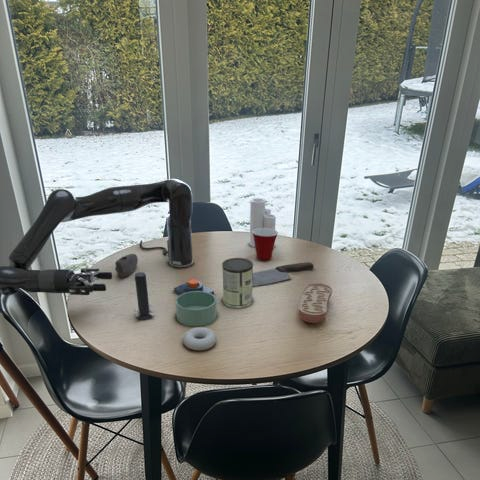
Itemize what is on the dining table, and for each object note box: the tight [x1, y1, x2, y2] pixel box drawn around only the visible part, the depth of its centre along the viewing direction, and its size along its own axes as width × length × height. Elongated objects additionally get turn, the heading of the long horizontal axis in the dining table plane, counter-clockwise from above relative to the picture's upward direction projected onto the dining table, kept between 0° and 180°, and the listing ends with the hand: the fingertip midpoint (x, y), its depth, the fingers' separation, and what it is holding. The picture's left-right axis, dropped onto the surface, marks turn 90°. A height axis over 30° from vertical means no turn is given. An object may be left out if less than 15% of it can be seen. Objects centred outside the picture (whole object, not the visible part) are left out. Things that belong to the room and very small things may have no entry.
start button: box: [187, 278, 199, 288], centre depth 166 cm, size 4×4×2 cm
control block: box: [173, 280, 215, 296], centre depth 167 cm, size 12×8×4 cm
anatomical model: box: [297, 282, 333, 324], centre depth 157 cm, size 23×10×5 cm, turn 164°
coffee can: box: [221, 257, 254, 309], centre depth 160 cm, size 10×10×14 cm
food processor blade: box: [132, 271, 157, 321], centre depth 150 cm, size 8×8×15 cm
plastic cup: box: [252, 228, 279, 262], centre depth 194 cm, size 11×11×12 cm
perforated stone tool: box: [115, 253, 139, 278], centre depth 182 cm, size 15×5×7 cm, turn 163°
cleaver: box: [252, 261, 314, 287], centre depth 181 cm, size 29×10×2 cm, turn 116°
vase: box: [249, 197, 277, 248], centre depth 205 cm, size 11×7×20 cm, turn 77°
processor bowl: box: [174, 291, 218, 327], centre depth 153 cm, size 13×13×6 cm
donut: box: [182, 326, 217, 351], centre depth 139 cm, size 10×4×10 cm
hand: (108, 281), depth 148 cm, fingers open, 8 cm apart
